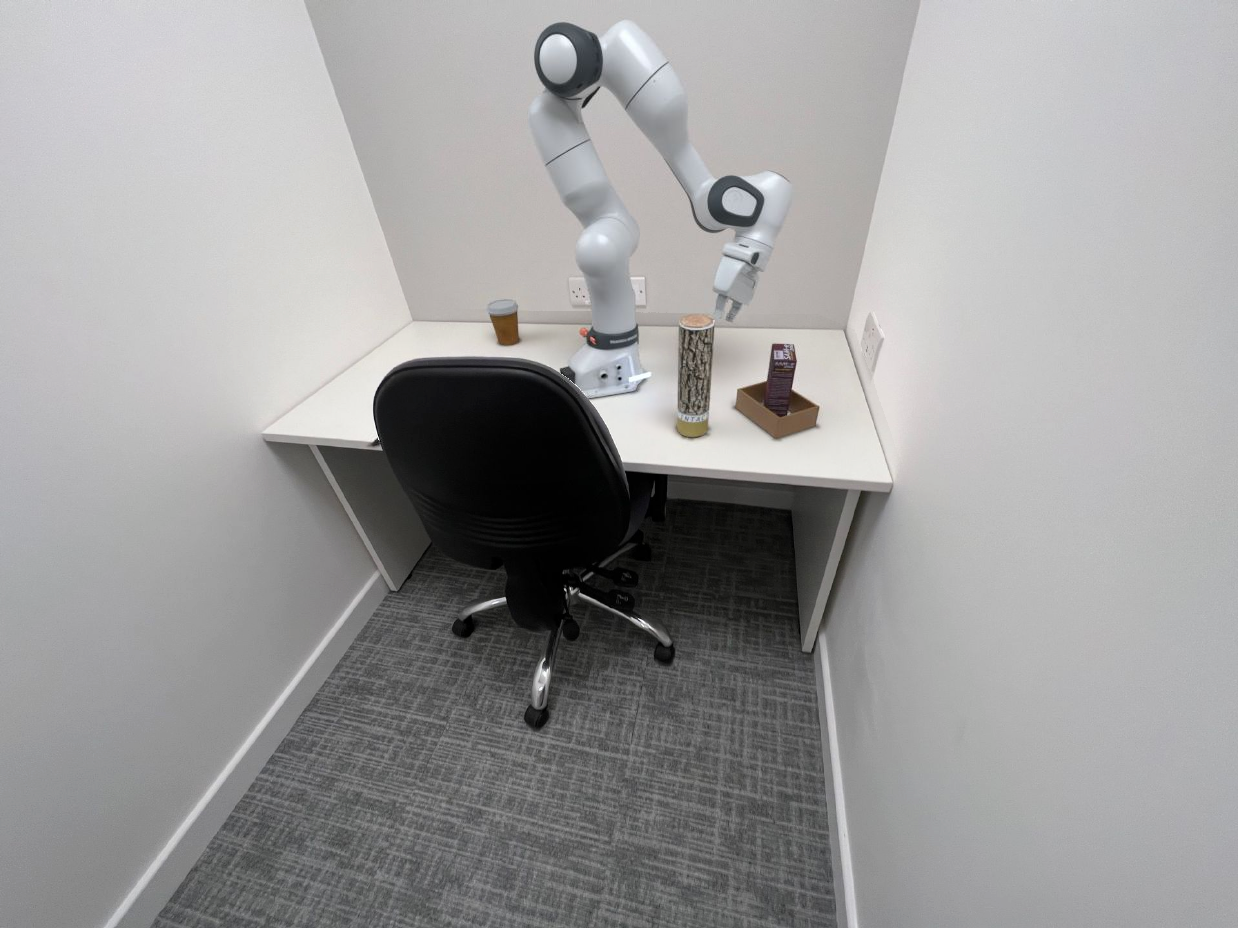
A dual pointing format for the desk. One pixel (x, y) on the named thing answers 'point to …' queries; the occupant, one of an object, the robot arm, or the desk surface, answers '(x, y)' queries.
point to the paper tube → (694, 374)
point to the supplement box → (780, 378)
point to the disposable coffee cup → (504, 320)
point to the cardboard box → (770, 422)
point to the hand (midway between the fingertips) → (723, 319)
